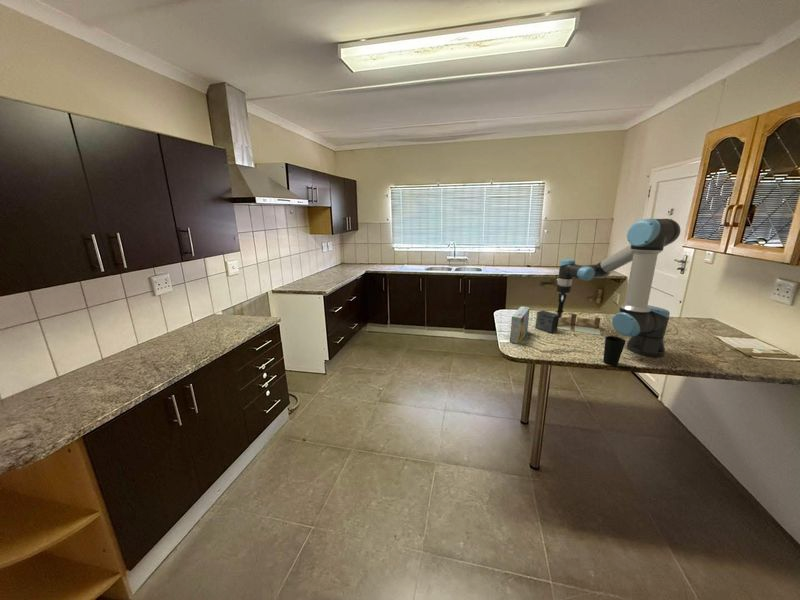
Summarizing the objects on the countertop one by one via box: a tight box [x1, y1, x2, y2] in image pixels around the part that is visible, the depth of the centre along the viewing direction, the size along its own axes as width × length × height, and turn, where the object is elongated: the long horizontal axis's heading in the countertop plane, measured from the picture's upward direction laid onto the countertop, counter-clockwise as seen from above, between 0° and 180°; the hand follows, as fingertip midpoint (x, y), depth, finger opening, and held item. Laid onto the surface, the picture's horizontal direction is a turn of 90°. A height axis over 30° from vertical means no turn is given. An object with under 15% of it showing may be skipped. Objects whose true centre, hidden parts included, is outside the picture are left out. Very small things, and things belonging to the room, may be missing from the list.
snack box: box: [509, 306, 531, 345], centre depth 170 cm, size 21×6×15 cm, turn 147°
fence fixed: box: [570, 313, 602, 330], centre depth 187 cm, size 15×3×7 cm, turn 62°
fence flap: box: [558, 316, 572, 326], centre depth 188 cm, size 12×3×6 cm, turn 103°
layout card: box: [557, 322, 601, 336], centre depth 188 cm, size 28×16×1 cm, turn 62°
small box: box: [534, 310, 559, 334], centre depth 181 cm, size 11×6×10 cm, turn 34°
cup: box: [602, 335, 626, 367], centre depth 141 cm, size 8×8×12 cm
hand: (558, 322), depth 190 cm, fingers closed
